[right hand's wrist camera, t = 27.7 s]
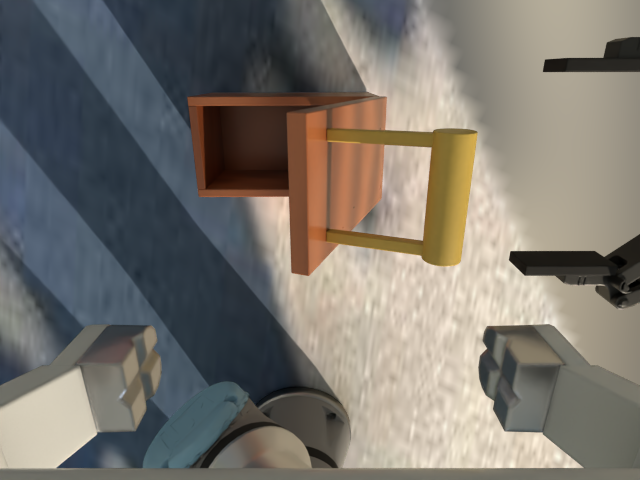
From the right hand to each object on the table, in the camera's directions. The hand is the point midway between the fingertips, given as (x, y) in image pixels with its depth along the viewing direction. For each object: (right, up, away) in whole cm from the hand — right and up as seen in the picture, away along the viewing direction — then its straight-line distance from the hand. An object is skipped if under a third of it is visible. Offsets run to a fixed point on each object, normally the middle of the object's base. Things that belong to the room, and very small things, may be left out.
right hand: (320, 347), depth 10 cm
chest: (-3, +15, +37) cm, 40 cm away
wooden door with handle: (+2, +8, +20) cm, 22 cm away
